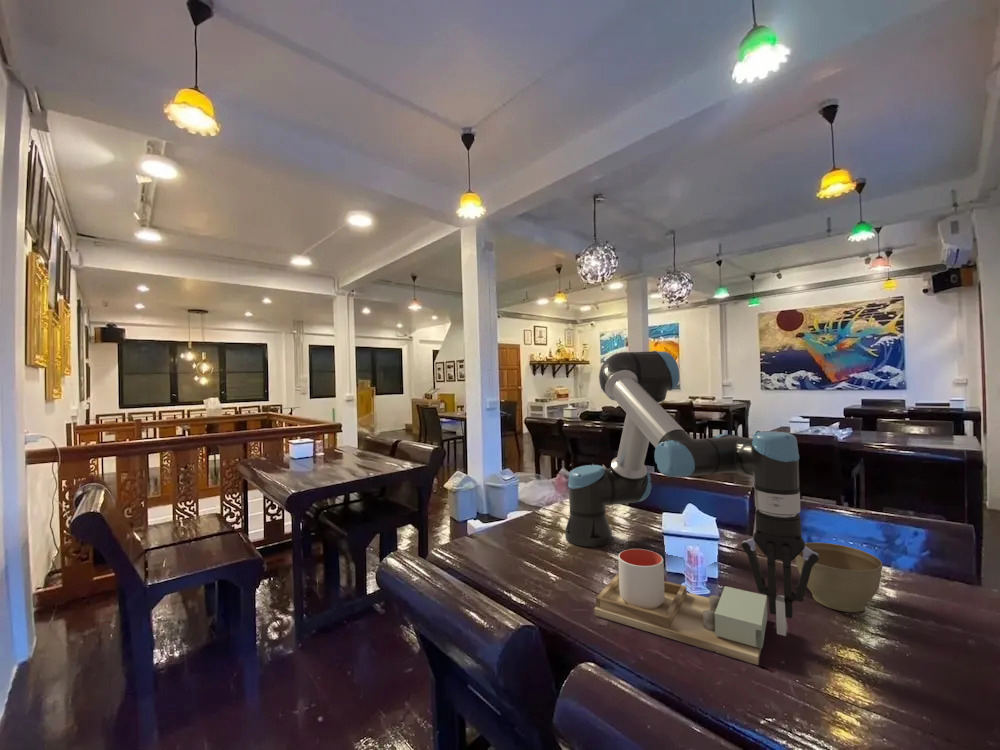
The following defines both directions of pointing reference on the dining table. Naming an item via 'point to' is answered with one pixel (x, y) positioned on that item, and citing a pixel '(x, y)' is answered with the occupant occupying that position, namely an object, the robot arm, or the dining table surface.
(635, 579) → the cup
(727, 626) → the cover
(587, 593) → the dining table surface
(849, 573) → the planter bowl
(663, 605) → the board
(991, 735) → the dining table surface
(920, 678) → the dining table surface
